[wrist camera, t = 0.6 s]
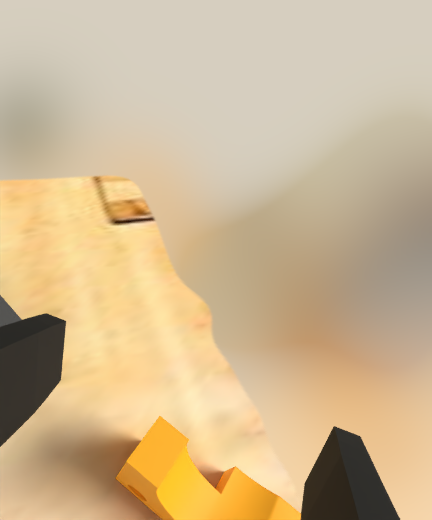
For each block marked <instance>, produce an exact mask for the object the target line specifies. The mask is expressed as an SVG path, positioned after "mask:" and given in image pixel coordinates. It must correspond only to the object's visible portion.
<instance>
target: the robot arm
mask: <svg viewBox="0 0 432 520" xmlns="http://www.w3.org/2000/svg"><path fill="white" fill-rule="evenodd" d="M65 326H66V321H64V320H62V319H59V318H57V317H54V316H52V315H49V314H47V313H46V314H42V315H38V316H34V317H31V318H27V319H24V320H21V321H17V322H14V323H11V324H8V325H4V326H1V327H0V447H1V446H2V445H3V444H4V443H5V442H6V441H7V440H8V439H9V438H10V437H11V436H12V435H13V434H14V433H15V432H16V431H17V430H18V429H19V428H20V427H21V426H22V425H23V424H24V423H25V422H26V421H27V420H28V419H29V418H30V417H31V416H32V415H33V414H34V413H35V412H36V410H37V409H38V408H39V407H40V406H41V404H42V403H43V402H44V401H45V400H46V398H47V397H48V396H49V395H50V393H51V392H52V391H53V389H54V388H55V387H56V386H57V384H58V383H59V382H60V380H61V372H62V360H63V349H64V338H65ZM301 520H400V518H399V516H398V515H397V512H396V510H395V508H394V506H393V504H392V502H391V500H390V498H389V496H388V494H387V492H386V490H385V487H384V486H383V483H382V481H381V479H380V477H379V475H378V473H377V471H376V469H375V466H374V464H373V462H372V460H371V458H370V456H369V454H368V452H367V450H366V447H365V446H364V443H363V441H362V439H361V437H360V436H358V435H355V434H353V433H350V432H348V431H345V430H342V429H340V428H337V427H333V429H332V431H331V433H330V435H329V437H328V439H327V441H326V443H325V445H324V447H323V449H322V451H321V453H320V455H319V457H318V459H317V461H316V463H315V464H314V466H313V468H312V470H311V472H310V474H309V476H308V478H307V480H306V482H305V486H304V494H303V503H302V511H301Z"/></svg>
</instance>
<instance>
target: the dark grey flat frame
mask: <svg viewBox="0 0 432 520" xmlns="http://www.w3.org/2000/svg"><path fill="white" fill-rule="evenodd" d="M17 321H21V318H20V317H19V316H18V315H17V314H16V313H15V312H14V310H13V309H12V308H11V307H10V306H9V305H8V303H7V302H6V301H5V300H4V299H3V298H2V297H1V295H0V327H1V326H4V325H8V324H11V323H14V322H17Z"/></svg>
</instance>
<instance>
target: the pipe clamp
mask: <svg viewBox="0 0 432 520" xmlns="http://www.w3.org/2000/svg"><path fill="white" fill-rule="evenodd" d="M188 441H189V439H188V438H186V437H185V436H184V435H183V434H181V433H180V432H179V431H178V430H177V429H175V428H174V427H173V426H172V425H171V424H169V423H168V422H167V421H166V420H164V419H163V418H162V417H161V416H159V418H158V419H157V420H156V422H155V423H154V424H153V426H152V427H151V428H150V430H149V431H148V433H147V434H146V435H145V437H144V438H143V439H142V441H141V442H140V443H139V445H138V446H137V447H136V449H135V450H134V452H133V453H132V454H131V456H130V457H129V458H128V460H127V461H126V463H125V464H124V466H123V467H122V469H121V470H120V472H119V474H118V475H117V477H116V478H115V479H116V480H118V481H119V482H120V483H121V484H122V485H123V486H124V487H126V488H127V489H128V490H129V491H130V492H131V493H132V494H134V495H135V496H136V497H137V498H138V499H139V500H140V501H142V502H143V503H144V504H145V505H146V506H147V507H148V508H150V509H151V510H152V511H153V512H154V513H155V514H156V515H158V516H159V517H160V518H161V519H162V520H301V513H299V512H298V511H297V510H296V509H295V508H293V507H292V506H291V505H290V504H288V503H287V502H286V501H285V500H283V499H282V498H281V497H280V496H278V495H276V494H274V493H272V492H271V491H269V490H267V489H266V488H264V487H262V486H261V485H259V484H258V483H256V482H255V481H254V480H252V479H251V478H249V477H248V476H247V475H246V474H244V473H243V472H242V471H241V470H239V469H238V468H237V467H236V466H235V467H233V468H231V469H229V470H227V471H225V472H224V473H223V475H222V477H221V479H220V481H219V483H218V484H217V486H216V488H214V487H213V486H212V485H211V484H210V483H209V482H208V481H207V480H206V479H205V478H204V477H203V475H202V474H201V473H200V472H199V471H198V469H197V468H196V467H195V465H194V464H193V462H192V461H191V459H190V457H189V455H188V452H187V442H188Z"/></svg>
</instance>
